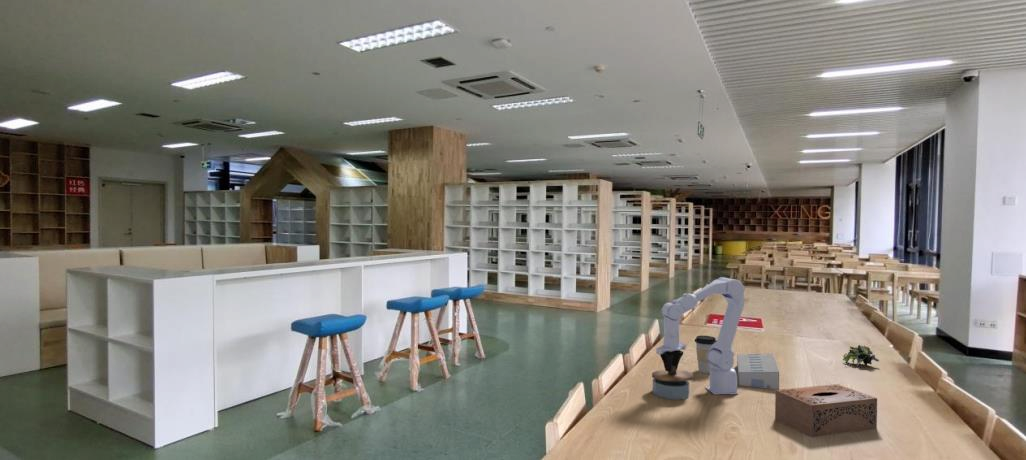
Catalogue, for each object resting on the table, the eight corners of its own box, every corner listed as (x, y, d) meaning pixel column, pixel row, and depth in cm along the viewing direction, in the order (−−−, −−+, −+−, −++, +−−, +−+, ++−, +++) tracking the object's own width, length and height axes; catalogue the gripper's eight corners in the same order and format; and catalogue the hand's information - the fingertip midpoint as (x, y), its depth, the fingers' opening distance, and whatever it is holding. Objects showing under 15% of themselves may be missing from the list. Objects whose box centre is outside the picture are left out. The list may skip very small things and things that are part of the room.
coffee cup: (719, 375, 215) (719, 340, 215) (695, 373, 217) (696, 339, 216) (714, 369, 224) (715, 335, 224) (692, 367, 226) (693, 334, 226)
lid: (686, 371, 198) (685, 361, 198) (699, 380, 183) (698, 369, 183) (647, 373, 198) (647, 363, 198) (657, 382, 183) (657, 371, 183)
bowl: (680, 388, 198) (680, 375, 198) (694, 399, 185) (694, 386, 185) (648, 388, 197) (648, 376, 197) (660, 400, 184) (660, 386, 184)
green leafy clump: (864, 376, 233) (884, 358, 228) (856, 376, 226) (876, 357, 222) (843, 358, 241) (861, 340, 236) (835, 357, 234) (853, 338, 230)
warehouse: (737, 366, 230) (737, 350, 229) (772, 370, 224) (772, 353, 224) (738, 386, 202) (738, 367, 202) (778, 391, 196) (779, 371, 196)
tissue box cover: (811, 437, 153) (811, 405, 153) (775, 419, 167) (775, 390, 167) (876, 429, 160) (877, 398, 159) (836, 412, 173) (837, 384, 173)
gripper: (667, 339, 184) (666, 376, 184) (692, 334, 191) (692, 369, 192) (652, 335, 189) (651, 371, 190) (677, 331, 197) (677, 365, 197)
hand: (671, 370), depth 191 cm, fingers closed on lid, 3 cm apart
